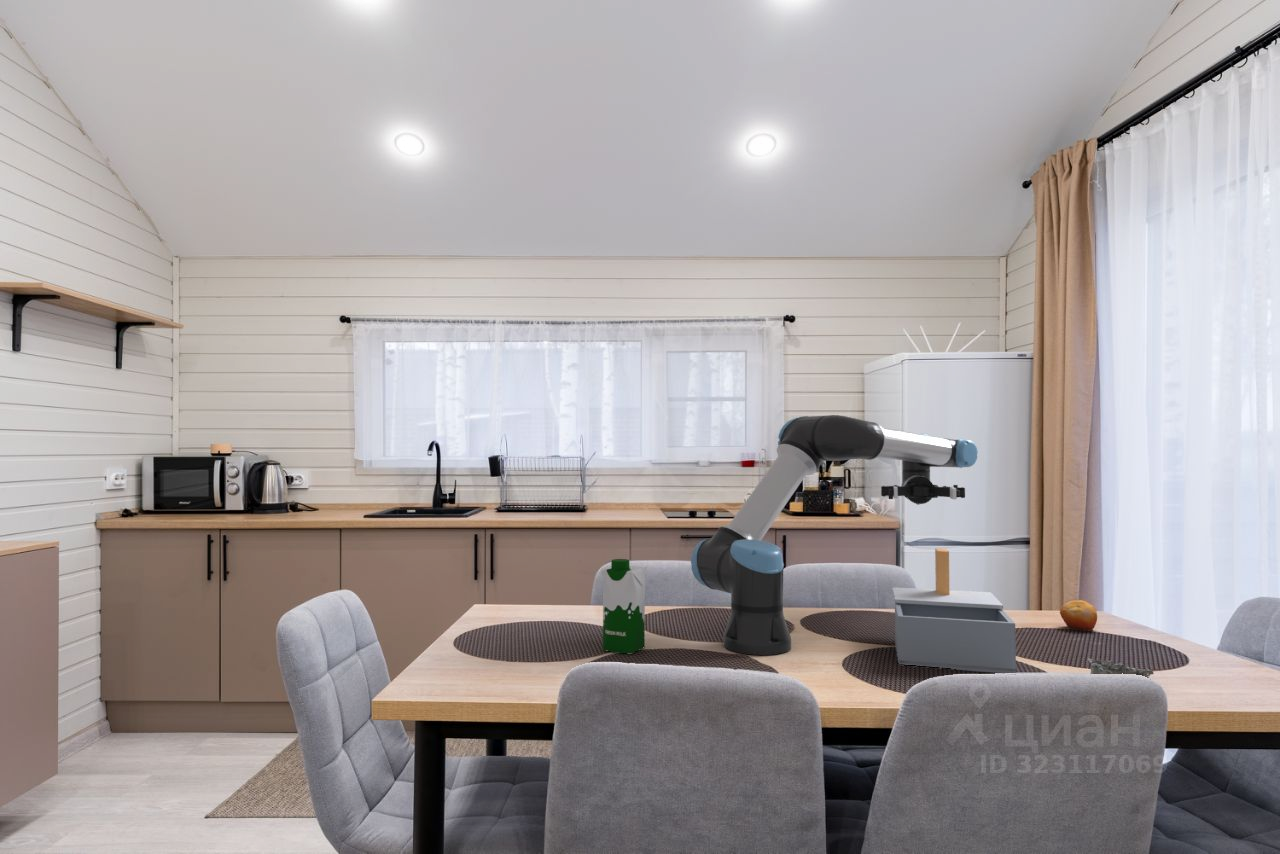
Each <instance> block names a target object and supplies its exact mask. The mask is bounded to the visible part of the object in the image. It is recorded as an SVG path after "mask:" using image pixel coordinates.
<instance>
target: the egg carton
mask: <svg viewBox="0 0 1280 854" xmlns="http://www.w3.org/2000/svg"><path fill="white" fill-rule="evenodd" d="M1087 659H1088V661H1089V663H1090V664H1091V665H1090V675H1091V674H1122V673H1123V674H1136V675H1142V676H1145V677H1147V678H1150V676H1152V675H1154V670H1152V669H1149V668H1143V669H1141V668H1136V667H1131V666H1125V664H1123V663H1122V662H1117V663H1114V662H1113V660H1101V659H1099V658H1098V659H1092V658H1089V657H1087Z"/></svg>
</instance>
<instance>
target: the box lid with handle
mask: <svg viewBox="0 0 1280 854" xmlns="http://www.w3.org/2000/svg"><path fill="white" fill-rule="evenodd" d="M934 553H935V554H934V555H935V558H934V559H935V561H934V563H935V565H934V566H935V569H934V570H935V588H934V589H932V588H914V587H913V588H912V587H897V586H895V587H892V595H893V598H894V604H895V603H905V604H923V605H940V606H958V607H975V608H993V609H1002V610H1004V605H1003V603H1001V601H1000V600H999V599H998V598H997V597H996V596H995V595H994V594H993V593H992V592H989V591H975V590H971V591H970V590H956V589H955V590H952V589H950V551H949V549H947V548H937V547H936V548H934Z"/></svg>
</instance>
